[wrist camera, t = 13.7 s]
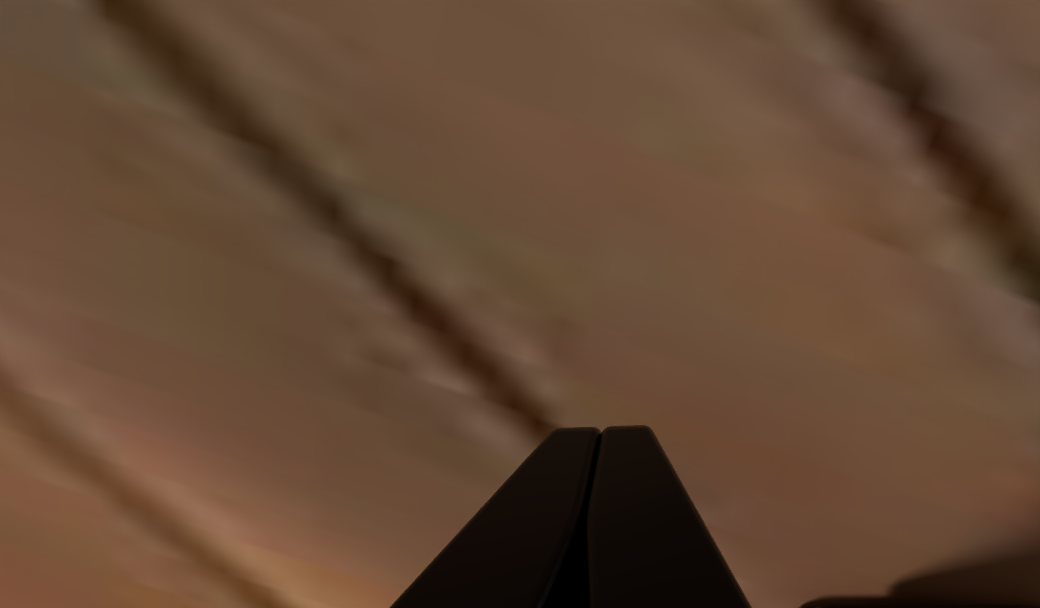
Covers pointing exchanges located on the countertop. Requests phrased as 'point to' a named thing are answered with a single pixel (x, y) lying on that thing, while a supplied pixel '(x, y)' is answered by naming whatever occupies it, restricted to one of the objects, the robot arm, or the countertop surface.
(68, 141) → the countertop surface
